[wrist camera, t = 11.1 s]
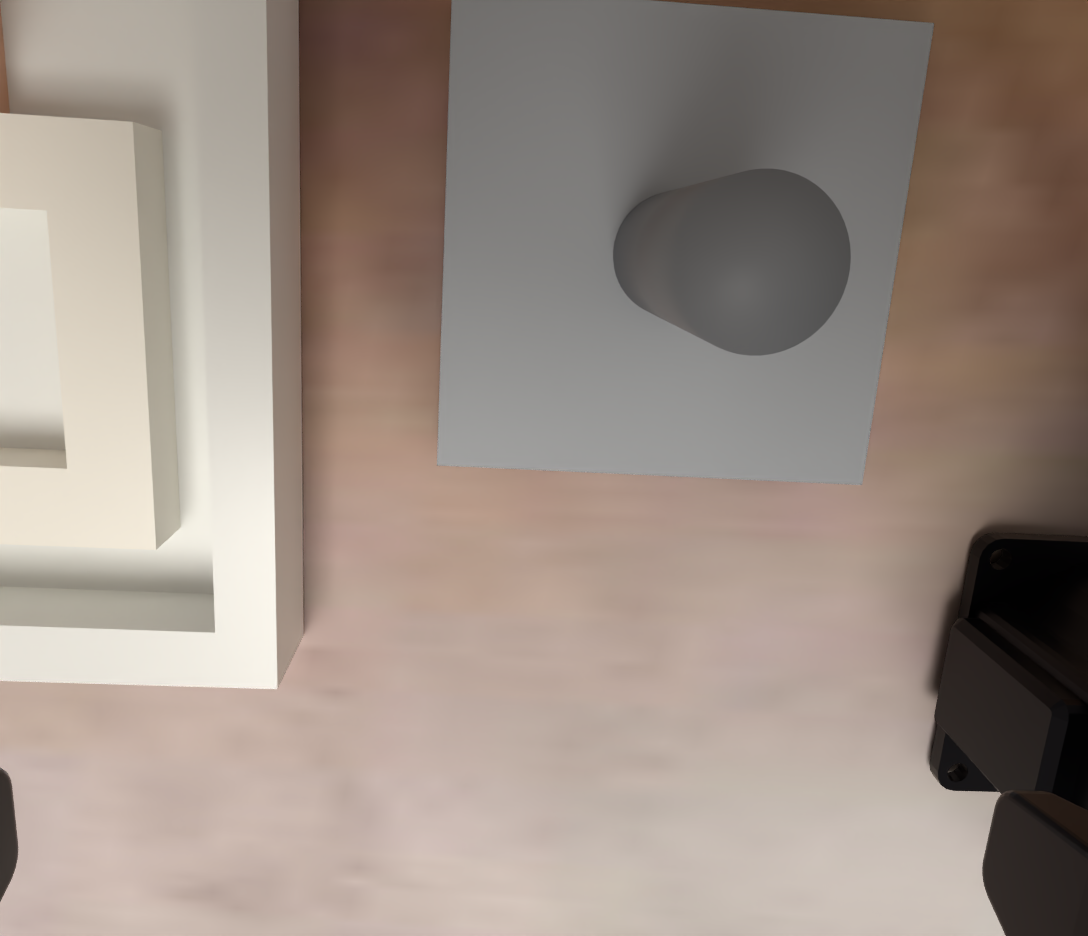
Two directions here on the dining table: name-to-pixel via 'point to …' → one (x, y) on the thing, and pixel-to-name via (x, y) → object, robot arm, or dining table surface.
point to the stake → (671, 235)
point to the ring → (97, 334)
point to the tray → (197, 345)
